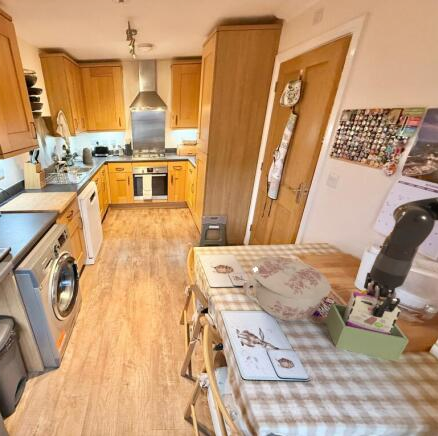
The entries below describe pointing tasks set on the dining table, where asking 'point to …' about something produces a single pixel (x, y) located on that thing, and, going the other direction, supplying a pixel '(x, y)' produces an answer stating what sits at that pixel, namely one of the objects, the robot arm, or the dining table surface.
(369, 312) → the candy bar box
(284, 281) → the chamber pot
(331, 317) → the bin
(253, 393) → the dining table surface
